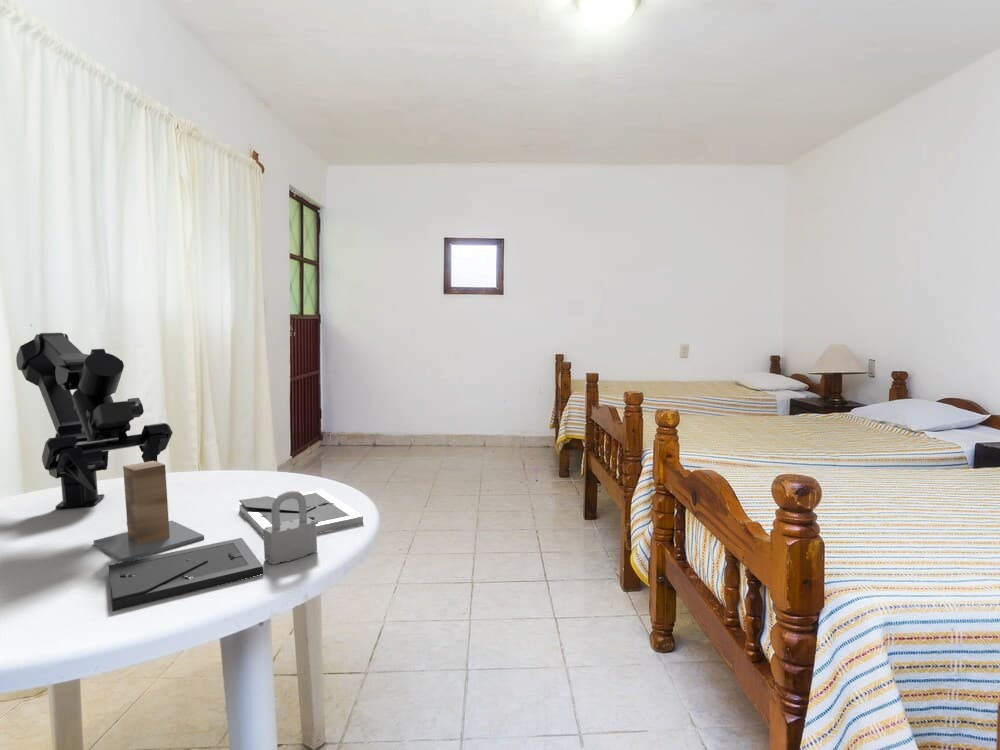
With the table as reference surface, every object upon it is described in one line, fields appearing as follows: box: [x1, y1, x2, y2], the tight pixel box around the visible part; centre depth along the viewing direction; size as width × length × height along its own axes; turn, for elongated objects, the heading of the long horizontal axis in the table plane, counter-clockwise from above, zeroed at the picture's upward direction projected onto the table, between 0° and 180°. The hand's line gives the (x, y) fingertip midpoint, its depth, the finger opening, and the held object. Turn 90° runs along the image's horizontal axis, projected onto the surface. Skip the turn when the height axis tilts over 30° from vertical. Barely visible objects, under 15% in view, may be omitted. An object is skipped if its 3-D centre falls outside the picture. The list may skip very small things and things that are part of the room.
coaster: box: [92, 520, 205, 563], centre depth 96 cm, size 12×12×1 cm
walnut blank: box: [122, 461, 170, 545], centre depth 95 cm, size 4×4×12 cm
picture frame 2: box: [239, 489, 364, 536], centre depth 107 cm, size 16×3×21 cm
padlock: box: [262, 490, 318, 565], centre depth 89 cm, size 7×4×10 cm, turn 134°
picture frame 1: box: [108, 537, 264, 612], centre depth 83 cm, size 13×2×18 cm
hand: (125, 484), depth 101 cm, fingers open, 9 cm apart
